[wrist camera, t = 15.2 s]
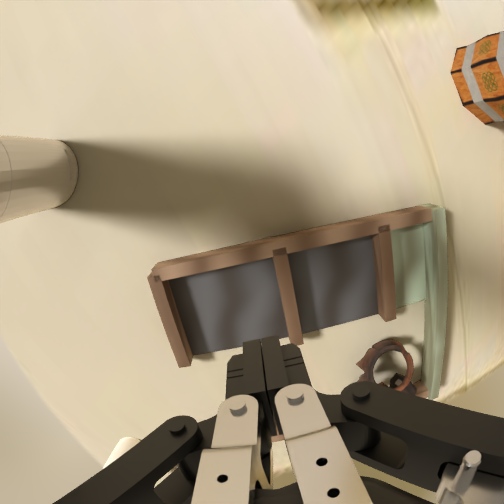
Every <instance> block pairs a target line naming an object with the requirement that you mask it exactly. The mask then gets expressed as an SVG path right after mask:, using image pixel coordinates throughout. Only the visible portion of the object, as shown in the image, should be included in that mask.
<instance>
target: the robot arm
mask: <svg viewBox="0 0 504 504" xmlns="http://www.w3.org/2000/svg"><path fill="white" fill-rule="evenodd" d="M77 178H78V166H77V161H76V158H75V155H74V153H73V151H72V150H71V149H70V147H69V146H68V145H66V144H65V143H63V142H61V141H58V140H49V139H40V138H29V137H16V136H1V135H0V223H2V222H5V221H8V220H12V219H15V218H19V217H22V216H25V215H29V214H32V213H36V212H40V211H44V210H47V209H51V208H55V207H57V206H60V205H62V204H63V203H65V202H66V201H67V200H68V199H69V198H70V196H71V194H72V193H73V191H74V189H75V186H76V183H77ZM261 342H262V345H261ZM276 425H277V428H278V432H279V435H282V434H283V436H284V439H285V444H286V447H287V451H288V455H289V458H290V462H291V466H292V469H293V473H294V476H295V480H296V483H293V484H291V485H288V486H286V487H283V488H280V489H275V490H273V451H272V439H271V437H272V436H277V428H276ZM351 458H353V459H355V460H357V461H359V462H361V463H363V464H366V465H368V466H370V467H372V468H375V469H377V470H379V471H382V472H384V473H386V474H389V475H391V476H394V477H396V478H399V479H401V480H403V481H406V482H409V483H411V484H414V485H417V486H419V487H422V488H425V489H427V490H430V491H433V492H436V499H437V502H438V503H439V504H504V418H500V417H496V416H491V415H487V414H483V413H479V412H475V411H470V410H467V409H463V408H459V407H455V406H451V405H447V404H444V403H440V402H436V401H433V400H429V399H426V398H422V397H419V396H415V395H412V394H409V393H405V392H402V391H399V390H395V389H392V388H389V387H386V386H383V385H379V384H376V383H373V382H369V381H359V382H355V383H352V384H350V385H348V386H347V387H345V388H344V389H343V391H342V392H341V395H326V394H322V393H319V392H317V391H316V390H315V389H314V388H313V387H312V385H311V382H310V379H309V376H308V373H307V370H306V366H305V363H304V360H303V357H302V354H301V351H300V348H298V347H297V346H296V345H294V344H293V343H291V344H287V345H283V346H280V342H279V337H278V335H274V336H270V337H265V338H261V341H260V339H256V340H251V341H246V342H243V354H239V355H234V356H232V357H231V359H230V360H229V362H228V363H227V381H226V400H225V401H224V402H222V403H221V405H220V406H219V409H218V413H217V415H215V416H214V417H212V418H210V419H207V420H204V421H201V422H199V423H197V422H196V420H195V419H194V418H192V417H190V416H176V417H173V418H171V419H169V420H167V421H166V422H164V423H163V424H162V425H161V426H159V427H158V428H157V429H155V430H154V431H153V432H152V433H150V434H149V435H148V436H147V437H145V438H144V439H143V440H141V441H140V442H139V443H137V444H136V445H135V446H134V447H132V448H131V449H130V450H128V451H127V452H126V453H124V454H123V455H122V456H120V457H119V458H118V459H116V460H115V461H113V462H112V463H111V464H109V465H108V466H107V467H105V468H104V469H103V470H101V471H100V472H99V473H97V474H96V475H94V476H93V477H91V478H90V479H88V480H87V481H86V482H84V483H83V484H81V485H80V486H78V487H77V488H76V489H74V490H73V491H71V492H70V493H68V494H67V495H65V496H64V497H62V498H61V499H59V500H58V501H56V502H54V503H53V504H434V503H432V502H429V501H427V500H424V499H422V498H420V497H417V496H415V495H412V494H410V493H408V492H406V491H403V490H401V489H399V488H397V487H394V486H392V485H390V484H388V483H386V482H383V481H381V480H378V479H375V478H370V477H363V476H359V474H358V471H357V469H356V467H355V465H354V463H353V461H352V459H351ZM176 465H177V466H178V468H177V469H176V470H175V471H174V472H173V473H171V474H170V475H169V476H168V477H167V478H166V479H164V480H163V481H162V482H161V483H160V484H158V485H157V486H156V487H155V488H154V486H155V484H156V482H157V481H158V480H159V479H160V478H162V477H163V476H164V475H165V474H166V473H167V472H169V471H170V470H171V469H172V468H173V467H174V466H176Z"/></svg>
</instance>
